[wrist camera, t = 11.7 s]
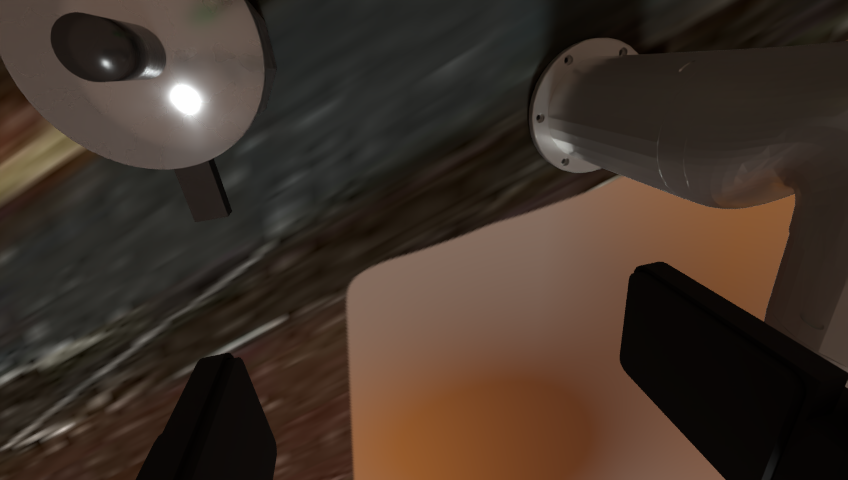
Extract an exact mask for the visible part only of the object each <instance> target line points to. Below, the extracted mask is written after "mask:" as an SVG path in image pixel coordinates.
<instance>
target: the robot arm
mask: <svg viewBox="0 0 848 480" xmlns="http://www.w3.org/2000/svg"><path fill="white" fill-rule="evenodd" d="M565 58H566V62H564V60H565ZM537 115H538V119H537V120H536V117H537ZM529 127H530V134H531V137H532V140H533V142H534V145H535V147H536V148H537V150H538V152H539V153H540V154H541V155H542V156H543V157H544V159H545V160H546V161H548V162H549V163H551V164H552V165H554V166H555V167H558V168H560V169H562V170H565V171H569V172H575V173H585V172H590V171H595V170H597V169H600V168H604V169H607V170H609V171H612V172H615V173H617V174H620V175H623V176H625V177H628V178H631V179H633V180H636V181H639V182H641V183H644V184H647V185H649V186H652V187H654V188H657V189H660V190H662V191H665V192H668V193H670V194H673V195H676V196H678V197H681V198H683V199H687V200H690V201H692V202H695V203H698V204H701V205H705V206H708V207H714V208H722V209H740V208H747V207H753V206H757V205H762V204H766V203H769V202H772V201H776V200H779V199H782V198H785V197H787V196H790V195H793V194H795V207H794V211H793V215H792V219H791V223H790V226H789V237H788V240H787V244H786V247H785V250H784V253H783V257H782V260H781V263H780V266H779V270H778V273H777V276H776V280H775V283H774V286H773V289H772V293H771V297H770V299H769V302H768V306H767V309H766V314H765V319H764V322H763V321H761V320H760V319H758V318H756V317H755V316H753V315H751V314H750V313H748V312H746V311H745V310H743V309H741V308H740V307H738V306H736V305H735V304H733V303H731V302H730V301H728V300H726V299H725V298H723V297H721V296H720V295H718V294H717V293H715V292H713V291H711V290H710V289H708V288H706V287H705V286H703V285H701V284H700V283H698V282H696V281H695V280H693V279H691V278H690V277H688V276H687V275H685V274H683V273H682V272H680V271H678V270H677V269H675V268H673V267H672V266H670V265H668V264H667V263H664V262H655V263H651V264H646V265H641V266H638V267H636V269H635V271H634V273H633V274H631V276H630V278H629V283H628V292H627V300H626V308H625V317H624V325H623V333H622V341H621V350H620V363H621V365H622V367H623V369H624V371H625V372H626V373H627V374H628V375H629V376H630V377H631V379H633V381H634V382H635V383H636V384H637V385H638V386H639V387H640V388H641V389H642V390H643V391H644V392H645V394H646V395H647V396H648V397H649V398H650V399H651V400H652V401H653V402H654V403H655V404H656V405H657V406H658V408H659V409H660V410H661V411H662V412H663V413H664V414H665V415H666V416H667V417H668V418H669V419H670V420H671V422H672V423H673V424H674V425H675V426H676V427H677V428H678V429H679V430H680V431H681V432H682V433H683V434H684V435H685V437H686V438H687V439H688V440H689V441H690V442H691V443H692V444H693V445H694V446H695V447H696V448H697V449H698V450H699V452H700V453H701V454H702V455H703V456H704V457H705V458H706V459H707V460H708V461H709V462H710V463H711V464H712V465H713V467H714V468H715V469H716V470H717V471H718V472H719V473H720V474H721V475H722V476H723V477H724V478H725V479H726V480H848V41H843V42H833V43H823V44H812V45H800V46H788V47H774V48H754V49H740V50H720V51H700V52H679V53H658V54H638V53H637V52H636V51H635V50H634V49H633V48H632V47H631V46H630V45H628V44H626V43H624V42H622V41H620V40H616V39H612V38H593V39H587V40H583V41H581V42H578V43H575V44H573V45H571V46H570V47H568V48H566V49H565V50H563V51H562V52H561V53H560V54H558V55H557V56H556V57H555V58H554V59H553V60H552V61H551V62H550V63H549V65H548V66H547V67H546V68H545V70H544V71H543V73H542V74H541V76H540V78H539V80H538V81H537V83H536V86H535V89H534V91H533V94H532V97H531V102H530V107H529ZM562 160H563V161H562ZM276 456H277V448H276V442H275V439H274V436H273V434H272V431H271V429H270V426H269V424H268V421H267V419H266V416H265V414H264V412H263V409H262V407H261V404H260V402H259V399H258V397H257V394H256V392H255V389H254V387H253V384H252V382H251V379H250V377H249V375H248V372H247V370H246V367H245V365H244V362H243V360H242V359H241V358H239V357H238V358H234V357H233V355H231V354H230V353H225V354H220V355H215V356H210V357H206V358H202V359H200V360H199V361H198V363H197V364H196V366H195V368H194V370H193V372H192V374H191V376H190V378H189V380H188V382H187V384H186V386H185V388H184V390H183V392H182V394H181V397H180V399H179V401H178V403H177V405H176V407H175V409H174V411H173V413H172V415H171V417H170V419H169V421H168V423H167V425H166V427H165V429H164V431H163V433H162V434H161V435H159V436H158V438H157V439H156V441H155V442H154V444H153V446H152V448H151V450H150V452H149V454H148V456H147V458H146V460H145V462H144V464H143V466H142V468H141V470H140V472H139V474H138V476H137V478H136V480H273V475H274V469H275V463H276Z"/></svg>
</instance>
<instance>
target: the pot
mask: <svg viewBox="0 0 848 480" xmlns="http://www.w3.org/2000/svg"><path fill="white" fill-rule="evenodd" d="M246 2H247V3H248V5H249V7H250V9H251V11H252V13H253V15H254V18H255V20H256V22H257V25H258V28H259V31H260V34H261V37H262V41H263V46H264V51H265V57H266V70H267V71H266V86H265V92H264V97H263V101H262V104H261V107H260V110H259V112H258V114H257V116H256V117H258V116H259V115H260V114H261V113H262V112H263V111H264V110H266V108H267V104H268V101H269V97H270V93H271V89H272V86H273V82H274V78H275V74H276V71H277V69H276V68H277V66H276V62H275V58H274V54H273V50H272V46H271V43H270V39H269V35H268V31H267V27H266V23H265V21H264V19H263V18H262V17H261V16H260V14H259V13H258V12H257V11H256V10H255V8H254V7H253V6H252V5H251V4H250V2H249V1H248V0H246ZM174 170H175V173H176V175H177V178H178V180H179V183H180V185H181V188H182V190H183V193H184V195H185V198H186V200H187V203H188V205H189V208H190V210H191V213H192V215H193V218H194V220H195V222H199V221H205V220H211V219H216V218H222V217H228V216H229V215H230V213H231V212H232V209H231V207H230V204H229V201H228V198H227V195H226V192H225V190H224V187H223V184H222V181H221V178H220V175H219V172H218V170H217V167H216V164H215V161H214V158H213V159H211V160H208V161H206V162H203V163H200V164H198V165H194V166H189V167H185V168H177V169H174Z"/></svg>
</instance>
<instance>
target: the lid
mask: <svg viewBox="0 0 848 480" xmlns="http://www.w3.org/2000/svg"><path fill="white" fill-rule="evenodd" d="M0 55H1V57H2V59H3V61H4V64H5V66H6V68H7V70H8V71H9V73H10V75H11V76H12V78H13V80H14V81H15V83H16V85H17V86H18V88H19V89H20V90H21V92H22V93H23V94H24V96H25V97H26V98H27V100H28V101H29V102H30V103H31V104H32V105H33V106H34V107H35V109H36V110H37V111H38V112H39V113H40V114H41V115H42V116H43V117H44V118H45V119H46V120H48V121H49V122H50V123H51V124H52V125H53V126H54V127H55V128H56V129H58V130H59V131H61V132H62V133H63V134H65V135H66V136H67V137H69V138H70V139H71V140H73V141H75V142H76V143H78V144H80V145H81V146H83V147H85V148H86V149H88V150H90V151H92V152H95V153H97V154H99V155H101V156H103V157H105V158H108V159H111V160H114V161H117V162H119V163H123V164H127V165H131V166H135V167H141V168H149V169H177V168H185V167H189V166H194V165H198V164H200V163H203V162H206V161H208V160H211V159H213V158H214V157H216V156H218V155H220V154H222V153H223V152H225V151H226V150H227V149H229V148H230V147H231V146H233V145H234V144H235V143H237V142H238V141H239V140H240V139H241V138H242V136H243V135H244V134H245V133H246V132H247V131H248V129H249V128H250V126H251V125H252V124H253V122H254V120H255V118H256V116H257V114H258V112H259V110H260V107H261V104H262V101H263V97H264V92H265V86H266V71H267V70H266V57H265V51H264V46H263V41H262V37H261V34H260V31H259V28H258V25H257V22H256V20H255V18H254V15H253V13H252V11H251V9H250V7H249V5H248V3H247V2H246V0H0Z"/></svg>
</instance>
